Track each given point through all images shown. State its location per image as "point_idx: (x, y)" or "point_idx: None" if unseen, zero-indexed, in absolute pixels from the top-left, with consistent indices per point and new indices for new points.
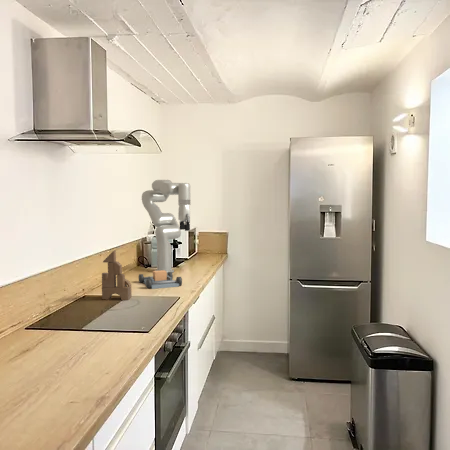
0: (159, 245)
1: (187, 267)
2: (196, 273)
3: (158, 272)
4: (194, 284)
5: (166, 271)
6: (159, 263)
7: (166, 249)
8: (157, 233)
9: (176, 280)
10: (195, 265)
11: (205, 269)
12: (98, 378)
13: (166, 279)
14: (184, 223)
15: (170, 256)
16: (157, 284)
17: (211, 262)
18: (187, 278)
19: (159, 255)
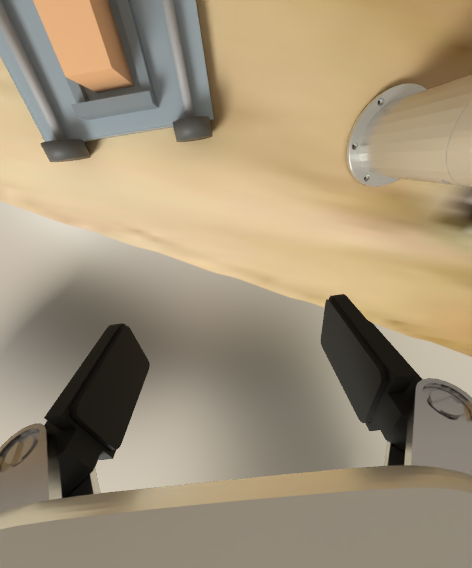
0: None
1: (417, 251)
2: (293, 257)
3: (35, 3)
4: (99, 213)
5: (66, 76)
6: (411, 98)
7: (452, 139)
8: None
9: (55, 136)
10: (432, 281)
11: (345, 294)
12: None
13: (90, 88)
14: (367, 424)
15: (412, 173)
16: (10, 13)
17: (441, 328)
18: (213, 211)
19: (454, 85)
